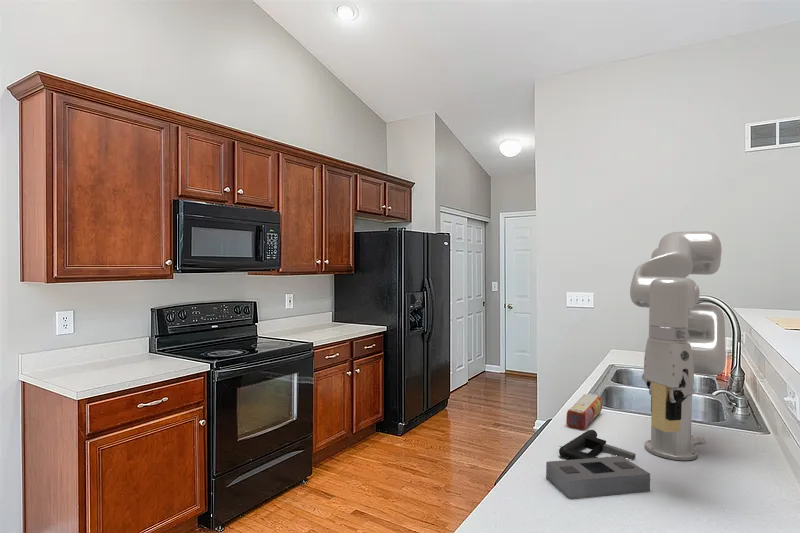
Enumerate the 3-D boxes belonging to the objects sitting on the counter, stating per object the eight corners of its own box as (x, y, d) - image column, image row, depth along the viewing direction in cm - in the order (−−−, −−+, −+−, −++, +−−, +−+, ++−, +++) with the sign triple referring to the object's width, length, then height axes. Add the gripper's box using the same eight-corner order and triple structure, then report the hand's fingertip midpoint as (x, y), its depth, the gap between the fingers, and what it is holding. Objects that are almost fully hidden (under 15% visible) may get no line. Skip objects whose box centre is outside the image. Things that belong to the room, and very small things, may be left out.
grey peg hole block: (620, 472, 118) (621, 455, 118) (649, 491, 109) (650, 473, 109) (546, 478, 114) (546, 461, 114) (569, 499, 105) (569, 480, 104)
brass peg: (666, 425, 110) (667, 381, 110) (680, 431, 106) (681, 385, 106) (651, 426, 109) (652, 381, 109) (664, 432, 105) (666, 386, 105)
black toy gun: (643, 444, 131) (584, 426, 142) (616, 467, 117) (553, 444, 128) (642, 456, 131) (583, 437, 142) (615, 480, 117) (552, 457, 128)
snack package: (586, 432, 146) (586, 410, 146) (564, 428, 150) (564, 406, 150) (602, 414, 164) (603, 394, 164) (582, 411, 168) (582, 391, 167)
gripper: (714, 339, 100) (712, 428, 100) (653, 328, 116) (651, 404, 117) (684, 340, 98) (682, 430, 99) (627, 329, 115) (625, 406, 115)
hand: (665, 415), depth 108 cm, fingers closed on brass peg, 4 cm apart
